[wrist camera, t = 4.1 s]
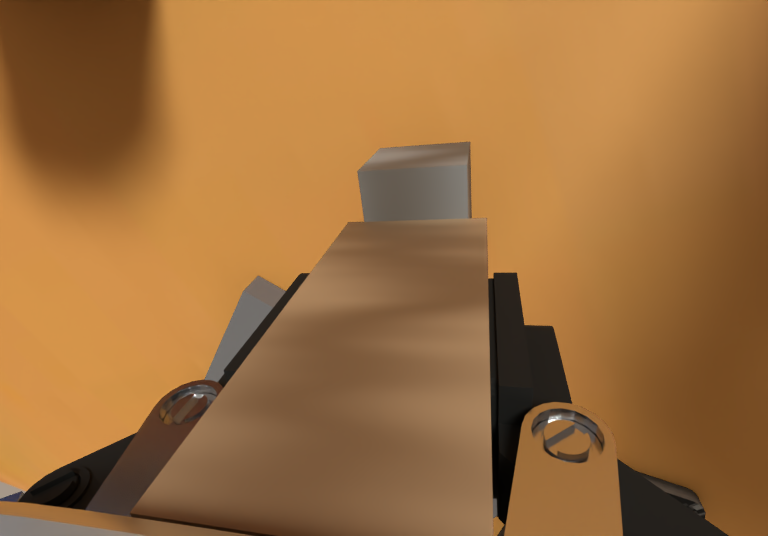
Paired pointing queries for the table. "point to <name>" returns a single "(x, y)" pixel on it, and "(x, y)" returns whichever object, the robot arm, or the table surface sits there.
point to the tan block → (360, 380)
